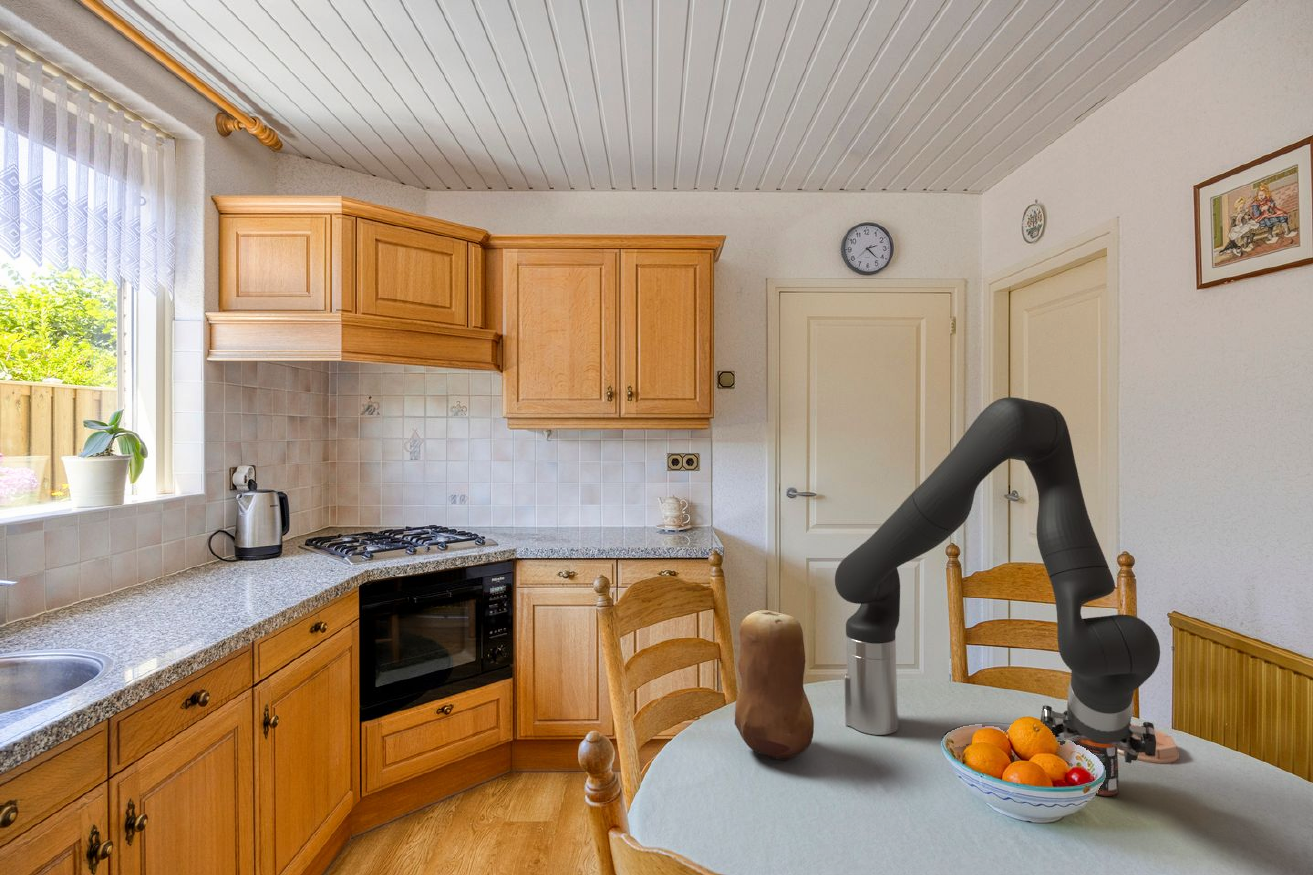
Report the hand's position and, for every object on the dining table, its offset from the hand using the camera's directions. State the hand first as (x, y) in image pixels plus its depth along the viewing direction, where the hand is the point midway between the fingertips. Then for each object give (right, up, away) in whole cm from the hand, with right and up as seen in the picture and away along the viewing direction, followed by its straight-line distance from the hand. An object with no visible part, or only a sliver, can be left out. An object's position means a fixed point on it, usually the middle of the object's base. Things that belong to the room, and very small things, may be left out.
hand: (1093, 749), depth 97 cm
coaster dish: (+16, -5, +11) cm, 20 cm away
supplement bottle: (-1, -6, -1) cm, 6 cm away
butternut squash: (-49, -7, +11) cm, 51 cm away
